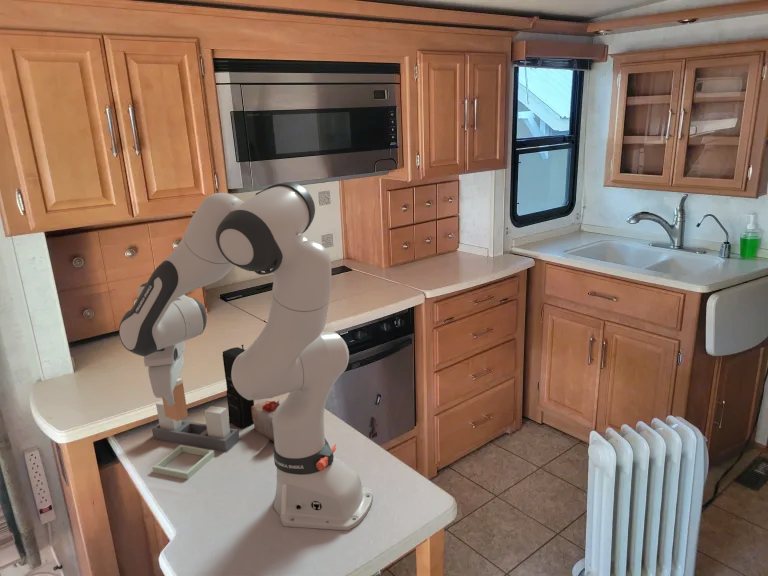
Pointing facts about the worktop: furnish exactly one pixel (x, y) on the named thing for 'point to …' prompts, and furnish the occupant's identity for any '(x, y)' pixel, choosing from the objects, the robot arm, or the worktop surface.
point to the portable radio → (236, 393)
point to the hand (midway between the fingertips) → (173, 397)
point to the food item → (264, 417)
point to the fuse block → (198, 430)
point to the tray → (179, 473)
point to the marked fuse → (177, 403)
